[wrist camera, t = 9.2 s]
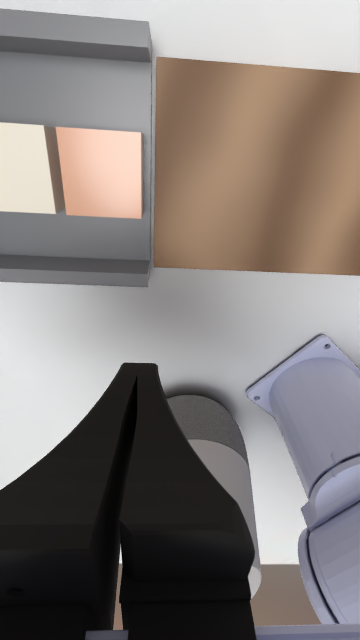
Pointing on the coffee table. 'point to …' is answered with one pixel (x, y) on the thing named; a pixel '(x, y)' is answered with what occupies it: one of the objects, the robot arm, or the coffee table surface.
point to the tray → (76, 112)
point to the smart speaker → (220, 456)
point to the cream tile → (30, 169)
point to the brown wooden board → (256, 168)
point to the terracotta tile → (102, 172)
